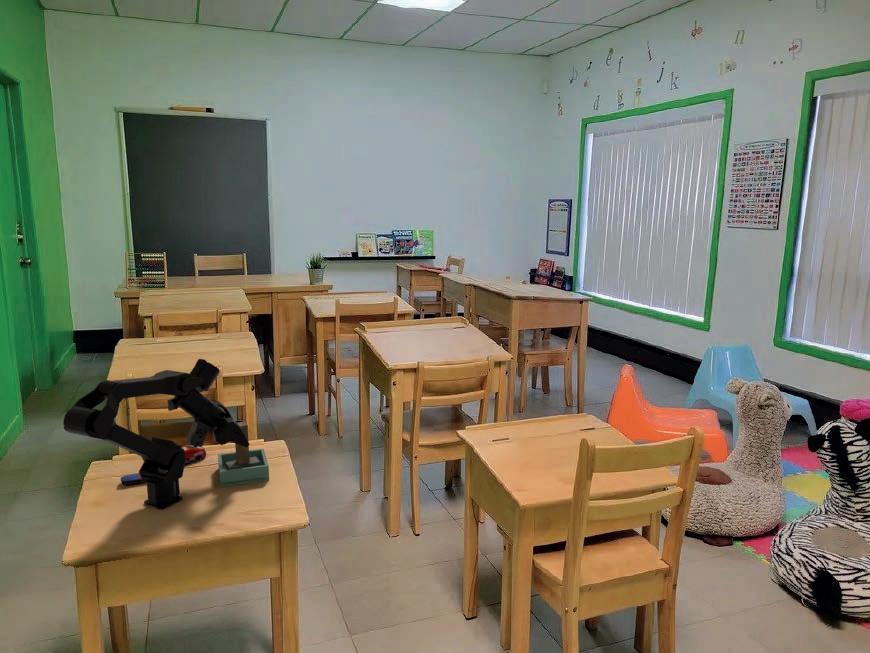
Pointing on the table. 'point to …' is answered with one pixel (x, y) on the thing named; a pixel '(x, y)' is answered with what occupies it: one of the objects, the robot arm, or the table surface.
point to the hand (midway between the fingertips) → (243, 439)
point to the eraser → (133, 480)
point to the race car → (194, 454)
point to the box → (243, 469)
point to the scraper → (242, 454)
